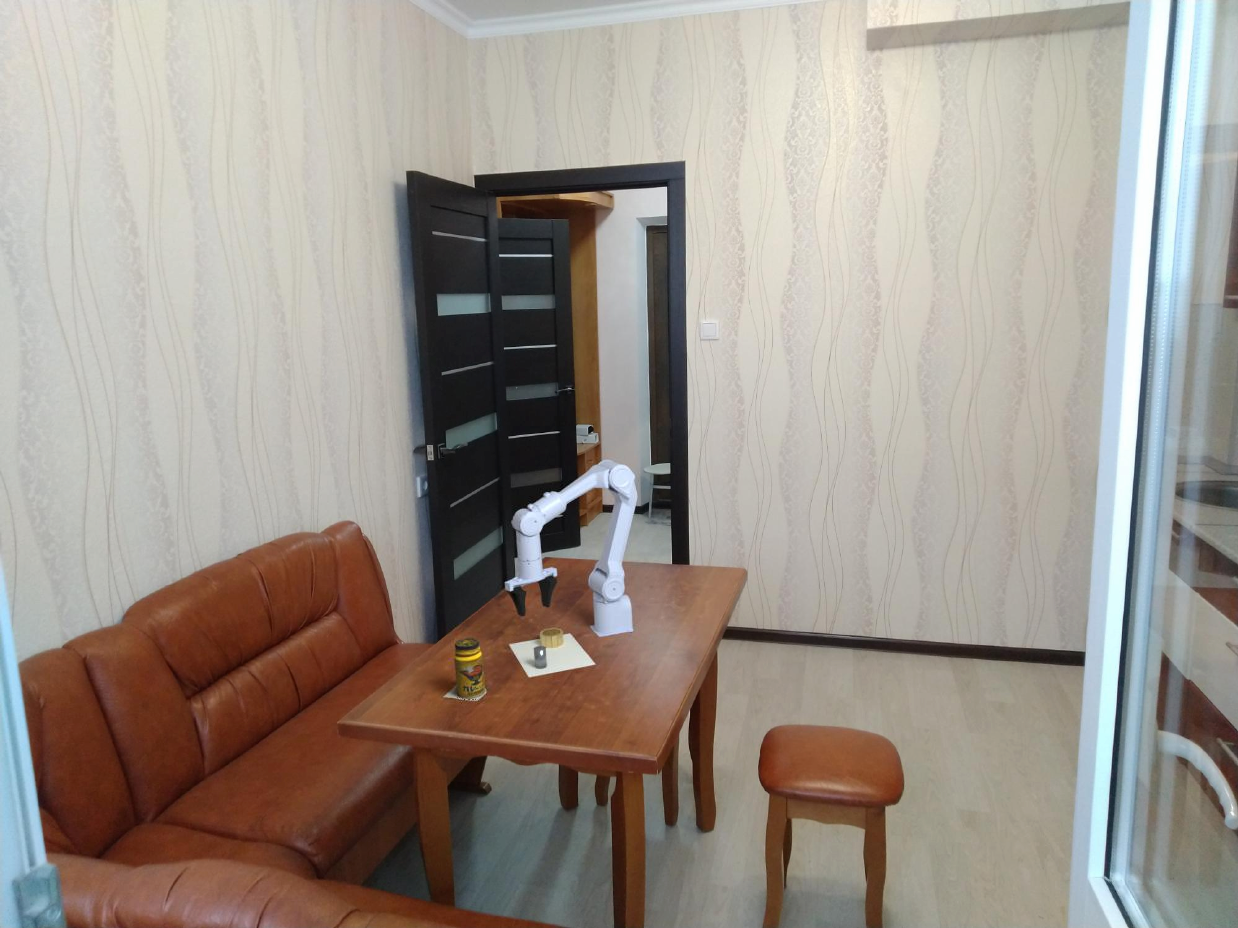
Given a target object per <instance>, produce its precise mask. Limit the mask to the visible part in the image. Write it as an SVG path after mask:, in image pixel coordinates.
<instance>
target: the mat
mask: <svg viewBox="0 0 1238 928" xmlns="http://www.w3.org/2000/svg"><path fill="white" fill-rule="evenodd" d="M563 640H564V643H563V645H562V646H560V647H557V648H546V659H547V667H546V668H543V669H537V668H535V660H534V648H535V647H537V646H541V644H540V638H538V639H537V638H536V639H532V640H527V641H526V640H525V641H520V642H515V643H510V644H508V645H509V647H510V649H511V651H512V652H513V654H514V655H515V657H516V659H517V660H518V662H519V663H520V665H521V667H522V668H523V670H524V671H525V673H526V675H527V677H528V678H532V677H538V676H544V675H547V674H549V675H550V674H553V673H557V672H559V673H560V672H563V671H568V670H575V669H579V668H586V667H589V666H594V665H596V663H595V662H594V661H593V659H592V658H591V657H590V655H589V654H588V653H587V652H586V651H585V650H584V649H583V647H582V645H580V644H579V642H578V641H577V640H576V639H575V637H574V636H573V635H572V634H571V633H565V634H564V633H563Z"/></svg>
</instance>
